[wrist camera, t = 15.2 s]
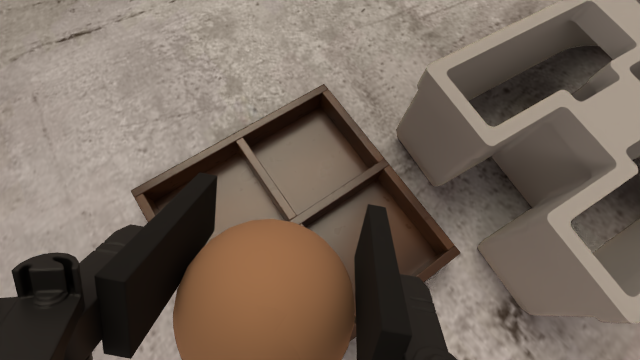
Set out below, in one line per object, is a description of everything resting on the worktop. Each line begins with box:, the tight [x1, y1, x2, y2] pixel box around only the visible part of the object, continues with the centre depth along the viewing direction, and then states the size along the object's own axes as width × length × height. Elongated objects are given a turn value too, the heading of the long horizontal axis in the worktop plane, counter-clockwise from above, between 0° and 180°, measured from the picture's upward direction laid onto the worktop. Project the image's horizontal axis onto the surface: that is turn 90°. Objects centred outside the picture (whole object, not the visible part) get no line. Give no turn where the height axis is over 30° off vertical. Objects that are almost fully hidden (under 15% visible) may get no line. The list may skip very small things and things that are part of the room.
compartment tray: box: [131, 84, 460, 342], centre depth 24 cm, size 16×16×3 cm
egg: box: [173, 219, 355, 360], centre depth 13 cm, size 6×6×8 cm
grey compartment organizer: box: [396, 0, 640, 323], centre depth 26 cm, size 17×28×9 cm, turn 121°
